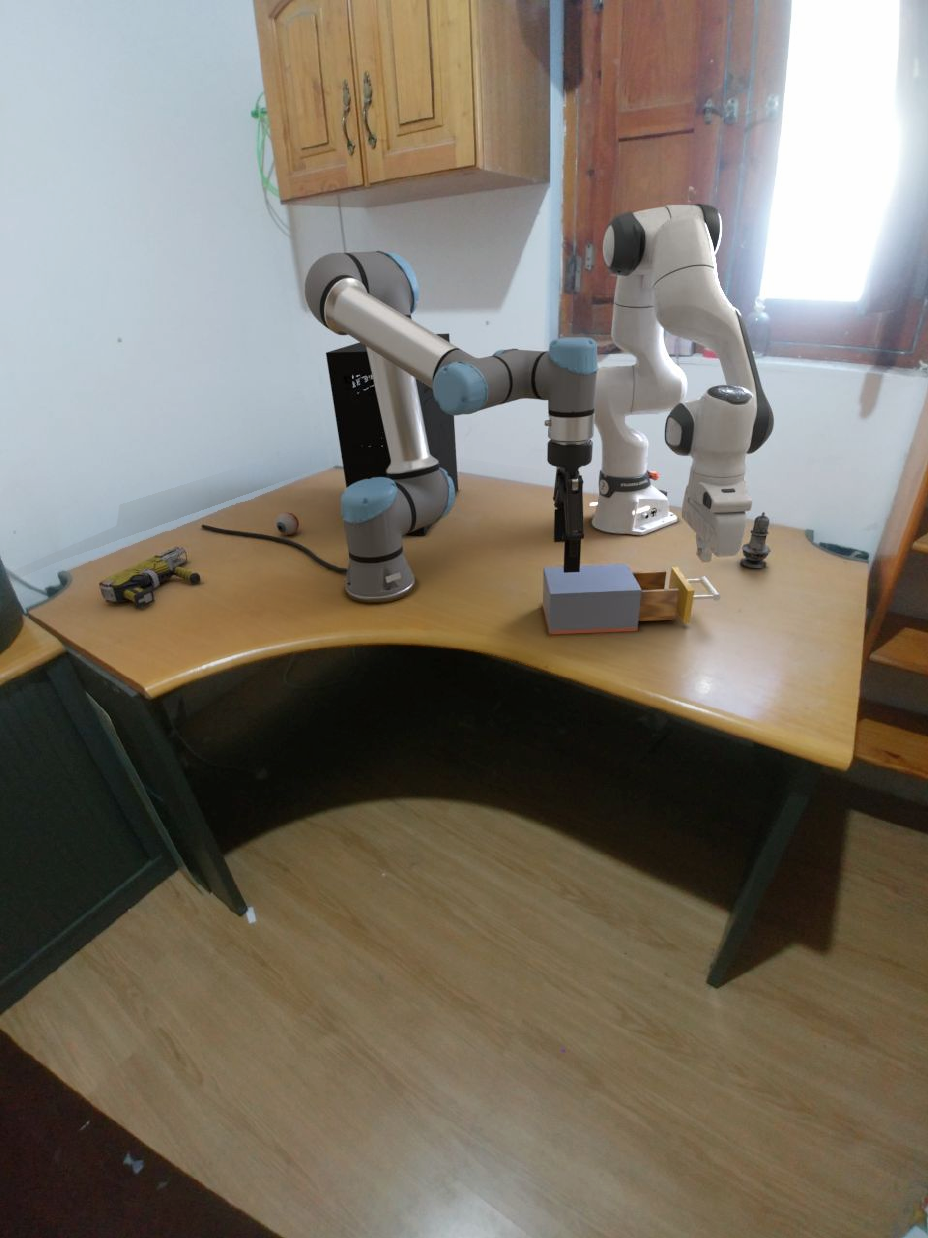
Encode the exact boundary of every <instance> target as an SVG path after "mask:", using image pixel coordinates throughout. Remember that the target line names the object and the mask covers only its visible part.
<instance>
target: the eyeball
mask: <svg viewBox="0 0 928 1238" xmlns="http://www.w3.org/2000/svg"><path fill="white" fill-rule="evenodd" d="M299 525H300V522H299V519H298V517H297V516H296V515H295V514H294V513H292V512H287V511H286V512H282V513H280V514H279V515H278V516H277V517H276V520H275V527H276V529H277V530H278V531H279V532H280V533H281V534H282V535H285V536H286V535H287V536H289V535H293V534H295V533H296V532H297V531H298V529H299Z"/></svg>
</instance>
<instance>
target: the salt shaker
mask: <svg viewBox="0 0 928 1238" xmlns="http://www.w3.org/2000/svg"><path fill="white" fill-rule="evenodd" d="M769 525H770V518H769V517H768V516H766V513H765V511H763V512H762V513H761V515H758V516H756V517H755V518H754V522H753V527H752V529H751V530H750V534H751V536H750V539H749V542H748V543H745V544H742V545H741V549H742V555H743V556H744V558H742V559H741V560H740V561H739V562H740V564H741V565H742V566H743V567H747V568H752V569H763V568H765V567H766V566H767V562H766V560H765V559H767V557H768V556H769V554H770V553H771V551H772V549H771V547H770V546H768V545H766V542H767V536H769V535H770V534H769V531H768V529H769ZM764 560H765V561H764Z"/></svg>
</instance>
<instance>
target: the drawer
mask: <svg viewBox="0 0 928 1238" xmlns="http://www.w3.org/2000/svg"><path fill="white" fill-rule="evenodd" d="M670 569H671V570H670V574H669V575H670V577H669V584H668V588H665V586H666V581H667V580H666V579H667V570H665V569H664V570H663V569H662V570H643V571H641V570H639V571H631V572H632V573H633V575H634V577H635V579H636V581H637V582H638V584H639V586H640V588H641V590H642V592H641V600H640V610H639V619H638V622H647V621H668V620H669V621H670V620H671V621H673V620H675V619H676V614H677V615H678V616H679V619H680V621H681V622H682V623H683V624H686V623H687V624H689V623H690V621H691V615H692V609H693V603H694V600H711V599H712V600H713V601H714V602H717V601H719V600H720V599H721V595H720V594H719V592H718V591H717V590H716V589H715V587H714V586H713V585H712V583H711V582H710V581H709V579H708V578H707V577H706V576H703V575H702V576H700V578H686V576H685V575H684V573H682V571H681V569H680V568H679V567H678V566H672V567H671V568H670ZM696 583H697V584H698V583H700V584H701V585H702V587H703V588H704V589H705V590H706V592H707V593H708V594H695V589H694V588H693V586H692V585H691V584H696Z"/></svg>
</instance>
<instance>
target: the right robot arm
mask: <svg viewBox="0 0 928 1238" xmlns="http://www.w3.org/2000/svg"><path fill="white" fill-rule="evenodd" d="M722 232H723V222H722V217H721V215H720V211H719V210H718V209H717V208H716V207H715V206H713V205H711V204H705V203H696V204H694V205H693V204H668V205H666V204H665V205H662V206H658V207H652V208H646V209H642V210H637V211H634V212H633V211H631V210H629V211H626V212H622V213H620V214H617V215H615V216H613V217H612V218H611V220H609V222H608V224H607V226H606V229H605V232H604V236H603V241H602V242H603V243H602V256H603V259H604V260H603V261H604V264H605V267H606V269H607V270H608V271H609V272H610V274H612V275H616V276H617V278H616V283H615V288H614V289H615V290H614V297H613V308H612V320H611V333H610V335H611V336H610V337H611V340H612V342H613V344H614V345H615V346H616V347H617V348H618V349H620V350H622V351H623V352H625V353H628V354H630V355H631V356H632V357H635V363H634V364H631V365H617V366H615V365H614V366H601V367H598V371H597V376H596V389H595V403H594V412H595V419H594V426H595V427H596V429H597V431H598V434H599V436H600V437H599V438H600V443H601V468H600V470H599V474H598V492H599V493H598V498H597V501H596V502H590V503H589V506H590V507H592V506H596V507H595V511H594V514H593V517H592V520H591V525H592V526H593V527H594V528H595V529H597V530H599V531H601V532H605V533H611V534H623V535H625V534H626V535H632V536H633V535H634V536H645V535H646V534H650V533H652V532H654V531H657V530H660V529H662V528H665V527H668V526H670V525H672V524H675V523H677V522H678V516H677V515H676V514H675V513H674V512H672V511H670V503H669V502H670V501H669V498H668V491H665V490H661V489H658V488H656V487H655V486H654V485H652V483H651V480H653V481H658V479H659V478H660V473H659V472H657V471H654V470H651V471H649V470H648V469H647V466H648V458H649V457H648V456H649V447H650V443H649V440H648V437H646V435H645V434H644V433H643V432H641V431H639V430H638V429H636V428H634V427H631V426H629V425H627V423H626V417H627V416H637V415H638V416H639V415H641V416H642V415H660V414H663V413H668V412H669V414H668V415H667V417H666V420H665V424H664V443H665V445H666V446H667V447H668V448H669V449H670V451H671V452H673V453H674V454H675V455H677V456H680V457H681V456H682V457H691V459H692V462H691V465H690V468H689V469H690V470H689V476H688V483H687V485H686V487H685V491H684V495H683V500H682V505H681V517H682V519H683V520H684V522H685V523H686V524H687V525H688V526H689V528H691V530H693V532H694V533H695V542H696V544H695V545H696V551H695V552H696V553H695V555H696V557H698V559H699V561H700V562H701V563H710V562H711V561H712V558H713V557H712V556H713V555H714V556H715V557H718V558H724V557H725V558H728V557H736V555H737V554H738V553H739V552H740V550H741V549H742V545H743V539H744V535H745V531H746V526H747V513H746V512H749V511H751V510H752V506H753V498H752V496H751V495H750V493H749V491H748V488H747V483H746V480H745V476H746V470H747V469H746V456H747V455H751V454H753V453H755V452H756V451H758V450H759V449H760V448H761V447H762V446H764V444H765V443H766V442H767V441H768V439H769V438H770V436H771V435H772V433H773V430H774V425H775V416H774V412H773V409H772V407H771V405H770V402H769V400H768V398H767V395H766V394H765V392H764V389H763V386H762V385H763V384H762V382H761V378H760V375H759V371H758V368H757V364H756V360H755V356H754V353H753V349H752V345H751V341H750V338H749V337H750V336H749V333H748V330H747V328H746V324H745V321H744V319H743V316H742V313H741V312H740V310H739V309H737V308H736V307H735V306H733V305H732V304H731V303H730V302H729V300H728V298H727V297H726V296H725V293H724V291H723V290H722V287H721V285H720V281H719V278H718V269H717V261H716V254H717V252H718V250H719V247H720V245H721V240H722V234H723V233H722ZM664 331H666V332H667V333H668V334H670V335H671V336H672V335H673V336H674V337H676V338H678V339H682V340H686V341H690V342H693V343H696V344H698V345H700V346H702V347H705V348H706V349H708V350H709V351H711V352H712V353H713V354H714V355H715V356H716V357H717V359H718V360H719V362H720V365H721V369H722V373H723V377H724V380H725V384H719V385H715V386H711V387H709V388H707V389H706V390H705V391H704V392H703V394H702V395H701V396H700V397H697V398H695V399H690V400H686V401H684V400H685V399H686V396H687V393H688V380H687V376H686V374H685V372H684V370H682V369H681V367H679V366H678V365H677V364H676V363H675V362H674V360H672V358H671V357H670V356H669V353H668V351H667V348H666V344H665V337H664V336H665V335H664V334H665V333H664Z"/></svg>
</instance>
